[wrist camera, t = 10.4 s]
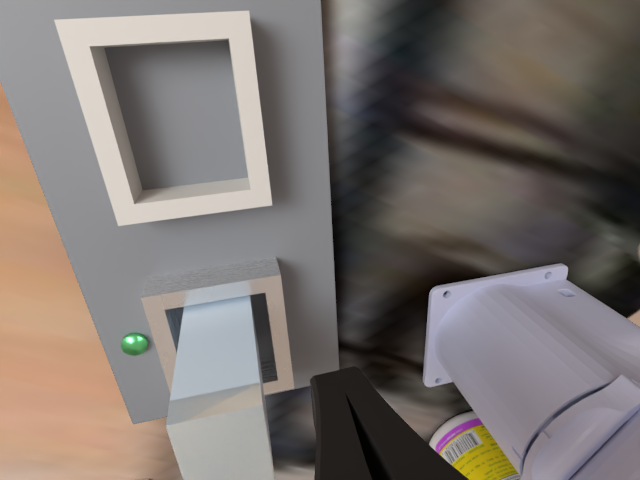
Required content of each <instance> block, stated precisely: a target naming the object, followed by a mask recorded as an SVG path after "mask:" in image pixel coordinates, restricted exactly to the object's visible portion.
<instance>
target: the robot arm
mask: <svg viewBox="0 0 640 480" xmlns="http://www.w3.org/2000/svg"><path fill="white" fill-rule="evenodd" d="M567 274H568V267H567V266H565V265H564V264H562V263H559V264H554V265H548V266H543V267H537V268H532V269H526V270H521V271H516V272H510V273H505V274H499V275H494V276H488V277H483V278H477V279H472V280H467V281H461V282H456V283H450V284H445V285H439V286H436V287H434V288H432V289H431V291H430V293H429V302H428V316H427V329H426V343H425V356H424V369H423V382H424V384H425V385H426V386H427V387H433V386H437V385H442V384H446V383H450V382H454V384H455V385H456V386H457V388H458V389H459V391H460V392H461V393H462V395H463V396H464V398H465V399H466V400H467V402H468V403H469V405H470V406H471V408H472V409H473V410H474V412H475V413H476V415H477V416H478V417H479V419H480V420H481V422H482V423H483V424H484V426H485V427H486V429H487V430H488V431H489V433H490V434H491V436H492V437H493V438H494V440H495V441H496V443H497V444H498V445H499V447H500V448H501V450H502V451H503V453H504V454H505V455H506V457H507V458H508V460H509V461H510V462H511V464H512V465H513V467H514V468H515V469H516V471H517V472H518V474H519V475H520V476H521V478H520V480H640V327H639V326H637V325H636V324H634V323H633V322H631V321H630V320H628V319H626V318H625V317H623V316H622V315H620V314H619V313H617V312H616V311H614V310H613V309H611V308H609V307H608V306H606V305H605V304H603V303H602V302H600V301H599V300H597V299H596V298H594V297H592V296H591V295H589V294H588V293H586V292H585V291H583V290H582V289H580V288H579V287H577V286H575V285H574V284H572V283H571V282H569V281H568V280H566V278H567ZM446 291H447V293H446V294H444V293H445V292H446ZM443 294H444V295H443ZM310 387H311V398H312V408H313V419H314V426H315V431H316V463H315V480H469V479H468V478H467V477H465V476H464V475H463V474H462V473H460V472H459V471H458V470H457V469H456V468H454V467H453V466H452V465H451V464H450V463H448V462H447V461H446V460H445V459H444V458H443V457H442V456H440V455H439V454H438V453H437V452H436V451H435V450H434V449H433V448H432V447H431V446H430V445H428V444H427V443H426V442H425V441H424V440H423V439H422V438H421V437H420V436H419V435H418V434H417V433H416V432H415V431H414V430H413V429H412V428H411V427H410V426H409V425H408V424H407V423H406V422H405V421H404V420H403V419H402V418H401V417H400V416H399V415H398V414H397V413H396V412H395V411H394V410H393V409H392V408H391V407H390V406H389V404H388V403H387V402H386V401H385V400H384V399H383V398H382V397H381V395H380V394H379V393H378V392H377V391H376V390H375V389H374V387H373V386H372V385H371V384H370V383H369V381H368V380H367V379H366V378H365V376H364V375H363V374H362V373H361V371H360V370H359V369H358V368H357V367H355V366H354V367H350V368H345V369H341V370H337V371H332V372H328V373H323V374H319V375H315V376H313V377H312V378H311V379H310Z"/></svg>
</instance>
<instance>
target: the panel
mask: <svg viewBox="0 0 640 480" xmlns="http://www.w3.org/2000/svg"><path fill="white" fill-rule="evenodd" d="M230 11H249V15H250V23H251V31H252V39H253V48H254V56H255V64H256V73H257V81H258V89H259V98H260V106H261V114H262V123H263V131H264V139H265V148H266V156H267V164H268V173H269V181H270V189H271V198H272V205H271V206H264V207H257V208H249V209H242V210H234V211H227V212H219V213H212V214H204V215H197V216H190V217H182V218H175V219H167V220H160V221H152V222H145V223H137V224H130V225H123V226H118V224H117V220H116V217H115V214H114V211H113V208H112V204H111V201H110V198H109V195H108V192H107V188H106V185H105V182H104V179H103V175H102V172H101V169H100V166H99V163H98V159H97V156H96V153H95V150H94V147H93V143H92V140H91V137H90V134H89V131H88V127H87V124H86V121H85V118H84V115H83V111H82V108H81V105H80V102H79V98H78V95H77V92H76V89H75V86H74V82H73V79H72V76H71V73H70V70H69V66H68V63H67V60H66V57H65V54H64V50H63V47H62V44H61V41H60V37H59V34H58V31H57V28H56V25H55V21H54V20H58V19H79V18H101V17H122V16H144V15H165V14H187V13H208V12H230ZM104 49H105V53H106V56H107V60H108V64H109V68H110V71H111V75H112V79H113V82H114V86H115V90H116V93H117V97H118V101H119V105H120V108H121V112H122V116H123V119H124V123H125V127H126V130H127V134H128V138H129V142H130V145H131V149H132V153H133V156H134V160H135V164H136V168H137V171H138V175H139V179H140V182H141V186H142V190H149V189H158V188H166V187H174V186H183V185H191V184H199V183H207V182H216V181H224V180H232V179H241V178H248V173H247V166H246V159H245V152H244V145H243V138H242V132H241V125H240V118H239V111H238V104H237V97H236V90H235V83H234V76H233V69H232V62H231V55H230V48H229V41H228V40H224V41H207V42H190V43H173V44H156V45H140V46H123V47H106V48H104ZM0 82H1V85H2V87H3V90H4V92H5V95H6V98H7V100H8V103H9V105H10V108H11V110H12V113H13V116H14V118H15V121H16V123H17V126H18V129H19V131H20V134H21V136H22V139H23V141H24V144H25V147H26V149H27V152H28V154H29V157H30V160H31V162H32V165H33V167H34V170H35V172H36V175H37V178H38V180H39V183H40V185H41V188H42V190H43V193H44V196H45V198H46V201H47V203H48V206H49V209H50V211H51V214H52V216H53V219H54V221H55V224H56V227H57V229H58V232H59V234H60V237H61V240H62V242H63V245H64V247H65V250H66V252H67V255H68V258H69V260H70V263H71V265H72V268H73V271H74V273H75V276H76V278H77V281H78V283H79V286H80V289H81V291H82V294H83V296H84V299H85V302H86V304H87V307H88V309H89V312H90V314H91V317H92V320H93V322H94V325H95V327H96V330H97V332H98V335H99V338H100V340H101V343H102V345H103V348H104V351H105V353H106V356H107V358H108V361H109V363H110V366H111V369H112V371H113V374H114V376H115V379H116V382H117V384H118V387H119V389H120V392H121V394H122V397H123V400H124V402H125V405H126V407H127V410H128V413H129V415H130V418H131V420H132V423H133V424H137V423H142V422H146V421H151V420H155V419H160V418H165V417H167V415H168V408H169V402H170V395H171V394H170V390H169V387H168V384H167V381H166V378H165V374H164V371H163V368H162V365H161V362H160V358H159V355H158V352H157V349H156V346H155V342H154V339H153V336H152V333H151V329H150V326H149V323H148V320H147V317H146V313H145V310H144V307H143V304H142V301H141V296H142V293H143V290H144V287H145V284H146V281H147V278H148V277H153V276H159V275H165V274H172V273H178V272H184V271H191V270H197V269H203V268H210V267H216V266H222V265H229V264H235V263H241V262H248V261H254V260H260V259H267V258H273V257H276V259H277V263H278V266H279V270H280V274H281V281H282V289H283V297H284V306H285V314H286V322H287V331H288V339H289V347H290V356H291V364H292V372H293V381H294V388H293V389H297V388H302V387H306V386H310V379H311V378H312V377H313V376H315V375H319V374H323V373H328V372H332V371H337V370H339V354H338V334H337V314H336V294H335V274H334V254H333V235H332V215H331V195H330V175H329V155H328V135H327V116H326V96H325V76H324V56H323V36H322V16H321V0H0ZM251 302H252V308H253V315H254V321H255V327H256V334H257V340H258V348H259V356H260V360H262V359H267V358H272V357H274V353H273V346H272V339H271V332H270V325H269V319H268V312H267V305H266V298H265V293H259V294H254V295H251ZM183 310H184V307H178V308H175V312H176V316H177V319H178V323H179V327H180V330H181V323H182V317H183ZM135 332H136V333H141V334H143V335H145V336H146V337H147V339H148V345H147V349H146V351H145V352H144V353H142V354H140V355H136V356H132V355H128V354H126V353H124V352H123V351H122V349H121V343H122V340H123V338H124V337H125V336H126V335H127V334H129V333H135ZM293 389H289V390H293ZM284 391H288V390H284ZM279 392H283V391H279ZM279 392H275V393H279ZM270 394H274V393H270ZM270 394H266V395H270ZM264 396H265V395H264Z"/></svg>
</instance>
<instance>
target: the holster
mask: <svg viewBox="0 0 640 480" xmlns="http://www.w3.org/2000/svg"><path fill="white" fill-rule="evenodd" d="M54 21H55V25H56V28H57V31H58V34H59V37H60V41H61V44H62V47H63V50H64V54H65V57H66V60H67V63H68V66H69V70H70V73H71V76H72V79H73V82H74V86H75V89H76V92H77V95H78V98H79V102H80V105H81V108H82V111H83V115H84V118H85V121H86V124H87V127H88V131H89V134H90V137H91V140H92V143H93V147H94V150H95V153H96V156H97V159H98V163H99V166H100V169H101V172H102V175H103V179H104V182H105V185H106V188H107V192H108V195H109V198H110V201H111V204H112V208H113V211H114V214H115V217H116V220H117V224H118V226H123V225H130V224H137V223H145V222H152V221H160V220H167V219H175V218H182V217H190V216H197V215H204V214H212V213H219V212H227V211H234V210H242V209H249V208H257V207H264V206H271V205H272V198H271V189H270V181H269V173H268V164H267V156H266V148H265V139H264V131H263V123H262V114H261V106H260V98H259V89H258V81H257V73H256V64H255V56H254V48H253V39H252V31H251V23H250V15H249V11H230V12H208V13H187V14H165V15H144V16H122V17H101V18H79V19H58V20H54ZM224 40H228V41H229V48H230V55H231V62H232V69H233V76H234V83H235V90H236V97H237V104H238V111H239V118H240V125H241V132H242V138H243V145H244V152H245V159H246V166H247V173H248V178H241V179H232V180H224V181H216V182H207V183H199V184H191V185H183V186H174V187H166V188H158V189H149V190H142V186H141V182H140V179H139V175H138V171H137V168H136V164H135V160H134V156H133V153H132V149H131V145H130V142H129V138H128V134H127V130H126V127H125V123H124V119H123V116H122V112H121V108H120V105H119V101H118V97H117V93H116V90H115V86H114V82H113V79H112V75H111V71H110V68H109V64H108V60H107V56H106V53H105V49H104V48H106V47H123V46H140V45H156V44H173V43H190V42H207V41H224Z"/></svg>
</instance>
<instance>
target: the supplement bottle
mask: <svg viewBox="0 0 640 480" xmlns="http://www.w3.org/2000/svg"><path fill="white" fill-rule="evenodd" d="M429 445H430V446H431V447H432V448H433V449H434V450H435V451H436V452H437V453H438V454H439V455H440V456H442V457H443V458H444V459H445V460H446V461H447V462H448V463H450V464H451V465H452V466H453V467H454V468H456V469H457V470H458V471H459V472H460V473H462V474H463V475H464V476H465V477H467V478H468V479H469V480H520V478H521V476H520V475H519V474H518V472H517V471H516V469H515V468H514V467H513V465H512V464H511V462H510V461H509V460H508V458H507V457H506V455H505V454H504V453H503V451H502V450H501V448H500V447H499V445H498V444H497V443H496V441H495V440H494V438H493V437H492V436H491V434H490V433H489V431H488V430H487V429H486V427H485V426H484V424H483V423H482V422H481V420H480V419H479V417H478V416H477V415H476V413H475V412H474V411H470V412H466V413H462V414H460V415H457V416H455V417H453V418H451V419H450V420H448V421H447V422H445V423H444V424H443V425H442V426H441V427H440V428H439V429H438V430H437V431H436V432H435V433H434V435H433V436H432V438H431V440H430V443H429Z"/></svg>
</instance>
